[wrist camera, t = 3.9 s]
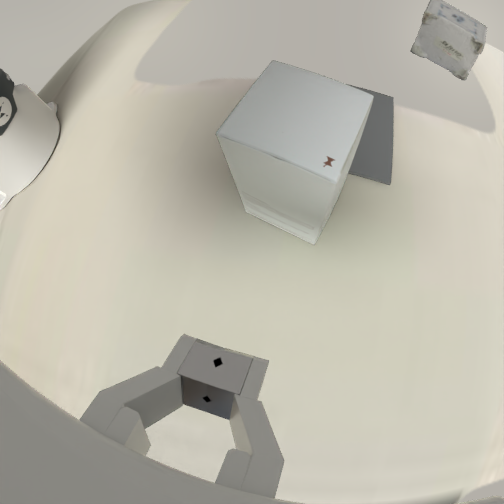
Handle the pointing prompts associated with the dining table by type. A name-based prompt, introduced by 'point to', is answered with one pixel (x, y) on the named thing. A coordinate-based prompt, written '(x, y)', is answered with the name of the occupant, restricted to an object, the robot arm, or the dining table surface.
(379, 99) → the mat
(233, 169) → the supplement box
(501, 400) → the dining table surface
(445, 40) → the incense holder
